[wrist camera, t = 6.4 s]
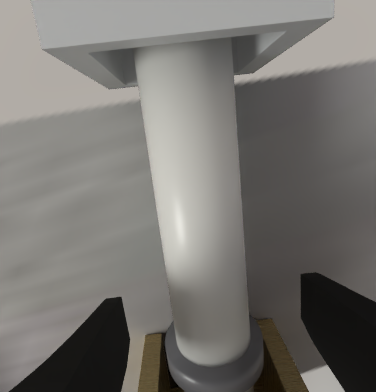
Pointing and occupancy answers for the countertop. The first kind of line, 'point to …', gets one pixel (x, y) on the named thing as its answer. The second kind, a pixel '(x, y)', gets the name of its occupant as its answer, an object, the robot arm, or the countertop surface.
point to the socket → (263, 388)
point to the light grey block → (170, 30)
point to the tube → (200, 212)
